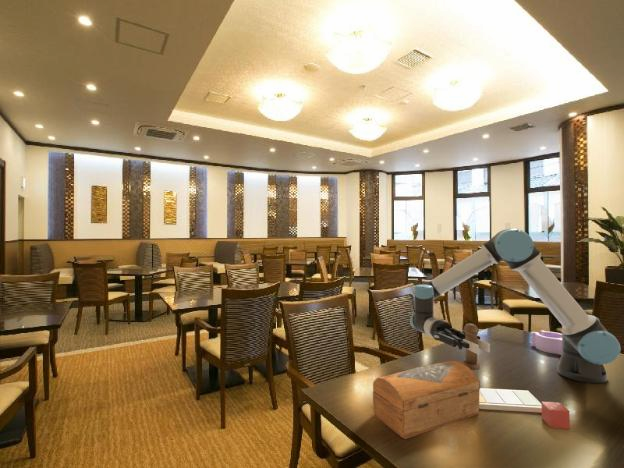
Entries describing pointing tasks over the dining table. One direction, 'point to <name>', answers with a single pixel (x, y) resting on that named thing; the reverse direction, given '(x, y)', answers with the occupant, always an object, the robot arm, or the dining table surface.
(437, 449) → the dining table surface
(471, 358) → the pawn
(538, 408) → the board
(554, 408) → the die
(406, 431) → the wooden box
